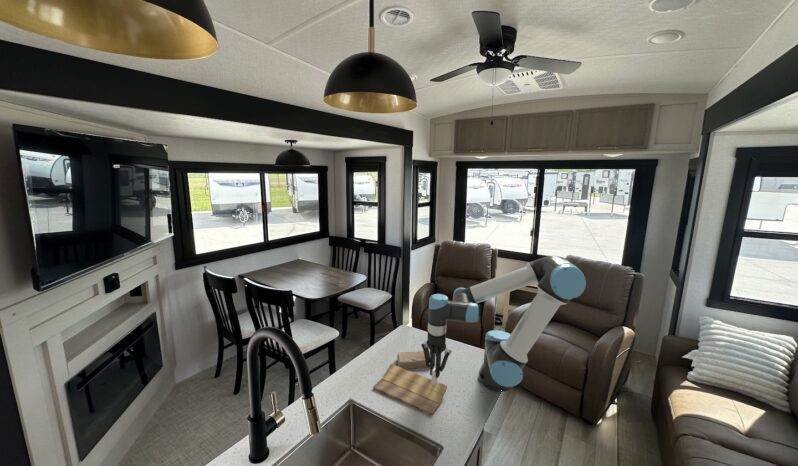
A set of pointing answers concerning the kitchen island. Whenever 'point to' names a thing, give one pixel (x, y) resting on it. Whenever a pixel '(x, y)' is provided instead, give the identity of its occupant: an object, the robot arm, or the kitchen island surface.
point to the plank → (415, 383)
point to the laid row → (406, 397)
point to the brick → (411, 359)
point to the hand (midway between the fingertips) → (434, 382)
